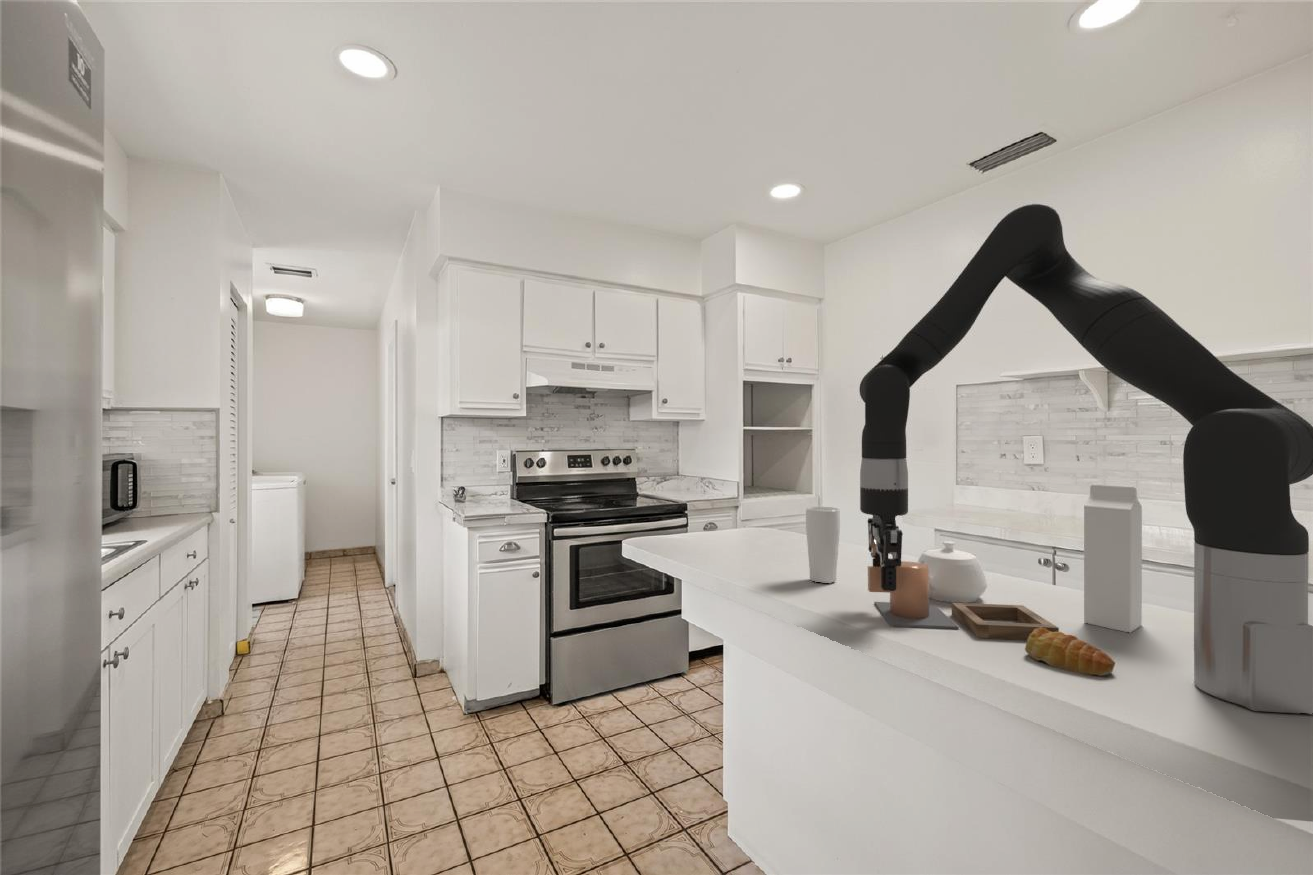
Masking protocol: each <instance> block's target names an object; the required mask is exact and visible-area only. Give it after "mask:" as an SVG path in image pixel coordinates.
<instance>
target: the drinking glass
mask: <svg viewBox="0 0 1313 875" xmlns="http://www.w3.org/2000/svg"><path fill="white" fill-rule="evenodd" d="M805 510H806V512H805V513H806V514H805V530H806V531H805V532H806V543H807V544H806V545H807V554H808V563H809V564H808V567H809V579H810V581H812V582H813V581H815V582H814V583H816V582H823V583H829V584H832V583H831V582H834V583H836V581H837V579H838V578H837V574H838V573H837V572H838V559H839V557H838V556H839V546H840V534H841V533H840V532H841V515H840V514H841V513H840V512H841V511H840V508H837V507H833V506H810V507H806V509H805Z"/></svg>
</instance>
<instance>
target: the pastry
mask: <svg viewBox="0 0 1313 875" xmlns="http://www.w3.org/2000/svg"><path fill="white" fill-rule="evenodd" d="M1024 651H1025V652H1026V653H1027V654H1028V655H1029V656H1030V657H1031V658H1032V659H1033V660H1035V661H1038V662H1039V661H1042V662H1045V663H1046V664H1047V665H1049V666H1051V667H1054V668H1057V669H1058V668H1061V669H1063V670H1066V671H1071V672H1075V673H1078V674H1082V675H1096V676H1099V677H1103V676H1107V675H1108V674H1110V673H1113V671H1114V668H1115V665H1116V663H1115V661H1114V660H1113V659H1112V658H1111V657H1110V656H1109V655H1108V654H1107V653H1105V652H1103V651H1102V650H1101V649H1099V648H1097V647H1095V646H1093V645H1092V644H1090V643H1089V642H1086V641H1084V640H1080V639H1078V637H1077V636H1075V635H1073V634H1065V633H1063V632H1062V631H1059V632H1051V631H1049V630H1047V629H1044V628H1041V627H1040V628H1036V629H1034V630H1033V632H1032V633H1031V634H1030V635H1029V637H1028V639H1027V640H1026V643H1025V648H1024Z"/></svg>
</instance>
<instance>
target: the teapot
mask: <svg viewBox="0 0 1313 875" xmlns="http://www.w3.org/2000/svg"><path fill="white" fill-rule="evenodd" d="M942 544H943V546H944V548H938V549H937V548H935V549H929V550H928V549H927V550H925V551H923V552H922V553H921V554H920V556H919V558H918V560H917V563H922V564H925V565H928V566H929V599H931V600H936V601H941V602H946V603H947V602H948V603H973V602H976V601H977V600H978V599H979V597H981V596H982V595H984V593H985V591H986V590H987V588H988V583H987V579H986V575H985V573H984V569H983V567H982V565H981V563H980V561H979V559H978V557H977V556H976V555H975V554H973V553H969V552H967V551H962V550H956V549H954V547H955V545H956V542H954V541H950V540H949V541H946V540H944V541H942Z"/></svg>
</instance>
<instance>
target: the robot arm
mask: <svg viewBox="0 0 1313 875" xmlns="http://www.w3.org/2000/svg"><path fill="white" fill-rule="evenodd" d="M1063 231H1064V230H1063V225H1062V221H1061V218H1060V215H1059V213H1058V212H1057V210H1056V209H1055V208H1053V207H1052V206H1050V205H1049V204H1045V203H1028V204H1025V205H1022V206H1020V207H1018V208H1016V209H1013V210H1012V211H1010V212H1009V213H1007V214H1006V215H1005V216H1004V217H1003V218H1002V219H1001V220H1000V221H999V222H998V223H997V224H996V225H995V227H994V228H993V230H992V231H991V232H990V233H989V235H988V236H987V237H986V239H985V240H984V242H983V243H982V244H981V246H980V248H979V249H978V250H977V252H976V253H975V254H974V255H973V257H972V258H971V260H970V261H969V262H968V264H967V265H966V266H965V267H964V269H963V270H962V271H961V273H959V275H958V277H957V278H956V279H955V281H954V282H953V283H952V285H950V287H949V289H948V290H947V291H946V292H945V293H944V294H943V296H941V298H940V299H939V300H938V301H937V302H936V303H935V304H934V306H933V307H931V308H930V310H929V311H928V312H927V313H926V314H924V316H922V318H920V320H919V321H918V322H917V323H916V324H915V325H914V326H913V327H912V328H911V329H910V330H909V331H908V332H907V334H905V335H904V336H903V337H902V339H901V340H900V341H899V343H898V344H897V345H896V346H895V348H893V349H892V350H891V351H889V353H887V354H886V355H885V357H883V358H882V359H881V360H880V361H879V362H878V363H876V365H875V366H873V367H872V368H871V369H870V370H869V371H868V372H867V373H866V374H865V375H864V376H863V377H862V380H861V381H860V384H859V388H858V389H859V396H860V399H861V400H862V401H863V402H864V421H865V422H864V427H863V428H862V432H861V463H860V471H859V493H860V494H859V495H860V496H859V503H860V504H859V506H860V507H859V509H860V510H859V511H860V512H861V513H863V514H866V515H871V516H872V518H870V517H868V519H867V529H868V551H869V553H870V558H872V566H876V567H881V588H882V589H883V590H884V591H895V590H896V568H898V566H901V561H902V551H903V550H902V549H903V548H902V547H903V546H902V545H903V543H902V542H903V531H902V529H900V528H899V527H900V526H899V525H897V520H896V517H897V516H898V517H899V516H906V515H907V514H908V513H909V470H908V465H907V464H908V463H907V432H906V430H907V429H906V428H907V422H908V416H909V410H910V399H911V398H910V397H911V388H912V386H913V385H914V384H915V383H916V382H917V381H918V380H920V378H921V377H922V376H923V375H924V374H926V373H927V372H929V371H930V370H932V369H934V368H935V367H936V366H937V365H938V364H939V363H940V362H942V360H944V358H946V356H948V355H949V353H951V352H952V351H953V350H954V348H956V346H958V344H959V343H960V342H961V341H962V340H963V339H964V338H965V336H966V335H968V332H969V331H970V330H971V328H972V327H973V325H974V323H975V322H976V320H977V318H978V317H979V315H980V314H981V311H982V310H983V308H984V306H985V304H987V302H988V300H989V298H990V297H991V295H992V294H993V293H994V291H995V289H996V288H997V287H998V286H999V284H1000V283H1001V282H1002V281H1003V280H1004V278H1007V279H1008V280H1009V281H1011V283H1013V284H1014V285H1016V286H1017V287H1018V288H1020V289H1021V290H1023V291H1024V292H1025V293H1026V294H1028V295H1030V296H1031V297H1032V298H1033V299H1035V300H1037V302H1039V303H1040V304H1041V305H1043V306H1044V307H1045V308H1046V309H1047V310H1048V311H1049V312H1050V313H1051V315H1053V317H1054V318H1055V319H1056V321H1057V322H1059V324H1060V325H1061V326H1062V327H1063V328H1064V329H1065V330H1066V331H1067V332H1068V333H1069V334H1070V335H1071V336H1072V337H1073V338H1074V340H1076V341H1077V342H1078V344H1079V345H1080V346H1081V347H1082V348H1084V349H1085V350H1086V351H1087V352H1088V354H1090V355H1091V356H1092V357H1093V358H1094V359H1095V360H1096V361H1097V362H1098V363H1099V364H1100V365H1101V366H1103V367H1104V368H1105V369H1106V370H1107V371H1108V372H1110V373H1112V374H1113V375H1114V376H1116V377H1117V378H1119V379H1121V380H1122V381H1124V382H1125V383H1127V384H1129V385H1131V386H1133V387H1134V388H1136V389H1139V390H1140V391H1142V392H1144V393H1146V394H1148V395H1150V396H1151V397H1153V398H1155V399H1157V400H1159V401H1160V402H1163V403H1164V404H1165V405H1167V406H1169V407H1170V408H1172V409H1173V410H1174V411H1176V412H1177V413H1178V414H1179V415H1181V416H1182V417H1183V418H1184V419H1185V420H1186V421H1187V422H1188V423H1189V424H1191V428H1190V430H1189V431H1188V433H1187V435H1186V438H1185V440H1184V445H1183V456H1182V461H1183V462H1182V464H1183V466H1182V468H1183V469H1182V470H1183V486H1184V487H1183V488H1184V503H1185V504H1184V505H1185V511H1186V515H1187V518H1188V520H1189V522H1190V524H1191V526H1192V528H1193V535H1194V537H1193V538H1194V542H1193V547H1194V548H1193V551H1194V552H1193V553H1194V554H1193V555H1194V557H1193V559H1194V560H1193V562H1194V564H1193V565H1194V566H1193V684H1194V685H1195V686H1196V687H1197V688H1199V689H1200V690H1201V691H1203V692H1205V693H1206V694H1209V695H1211V696H1213V697H1215V698H1218V699H1221V700H1223V701H1226V702H1230V703H1232V704H1236V705H1239V706H1241V707H1245V708H1247V709H1248V710H1251V711H1254V712H1267V713H1268V712H1269V713H1270V712H1273V713H1286V714H1287V713H1289V714H1300V713H1313V625H1311V624H1309V556H1310V555H1309V552H1310V551H1309V550H1310V549H1309V548H1310V547H1309V546H1310V545H1309V544H1310V541H1309V540H1310V538H1309V536H1310V535H1309V531H1308V530H1307V528H1306V527H1305V526H1304V525H1302V524H1301V523H1300V522H1299V521H1298V520H1297V518H1295V516H1294V514H1293V511H1292V506H1291V503H1292V502H1291V488H1290V487H1291V486H1290V485H1294V484H1296V483H1300V482H1302V481H1305V480H1307V479H1309V478H1310V477H1311V476H1313V425H1312V424H1311V423H1309V422H1308V421H1307V420H1306V419H1305V418H1303V417H1302V416H1300V415H1299V414H1297V413H1296V412H1294V411H1293V410H1291V409H1290V408H1288V407H1286V406H1285V405H1283V404H1282V403H1280V402H1279V401H1277V400H1275V399H1273V398H1272V397H1271V396H1269V395H1268V394H1266V393H1264V392H1263V391H1261V390H1260V389H1258V388H1257V387H1255V385H1254V386H1253V385H1252V384H1251V383H1249V382H1247V381H1246V380H1244V379H1243V378H1242V377H1240V376H1239V375H1237V373H1235V372H1233V370H1231V369H1230V368H1228V366H1226V365H1225V364H1224V363H1223V362H1222V361H1220V360H1219V358H1218V357H1216V355H1214V354H1213V353H1212V352H1211V351H1210V350H1209V349H1208V348H1206V347H1205V345H1204V344H1202V343H1201V342H1200V341H1198V340H1197V339H1196V338H1195V337H1194V336H1193V335H1191V334H1190V333H1189V332H1188V331H1186V330H1185V329H1184V328H1183V327H1182V326H1181V325H1179V324H1178V323H1177V321H1176V320H1174V319H1173V318H1172V317H1171V316H1170V315H1169V314H1168V313H1166V312H1165V311H1163V309H1161V308H1160V307H1159V306H1158V305H1157V304H1155V303H1154V302H1153V301H1151V300H1150V299H1149V298H1147V297H1146V296H1145V295H1143V293H1140V292H1139V291H1137V290H1135V289H1133V288H1130V287H1128V286H1126V285H1125V286H1124V285H1122V284H1119V283H1114V282H1110V281H1107V280H1102V279H1100V278H1097V277H1095V276H1094V275H1092V274H1091V273H1089V272H1088V271H1087V270H1086V269H1085V268H1084V267H1082V265H1081V264H1080V263H1079V262H1077V261H1076V260H1075V258H1073V256H1072V255H1071V254H1070V253H1069V251H1068V250H1067V247H1066V245H1065V241H1064V233H1063ZM890 554H891V556H892V558H891V557H890V558H889V555H890Z"/></svg>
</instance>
